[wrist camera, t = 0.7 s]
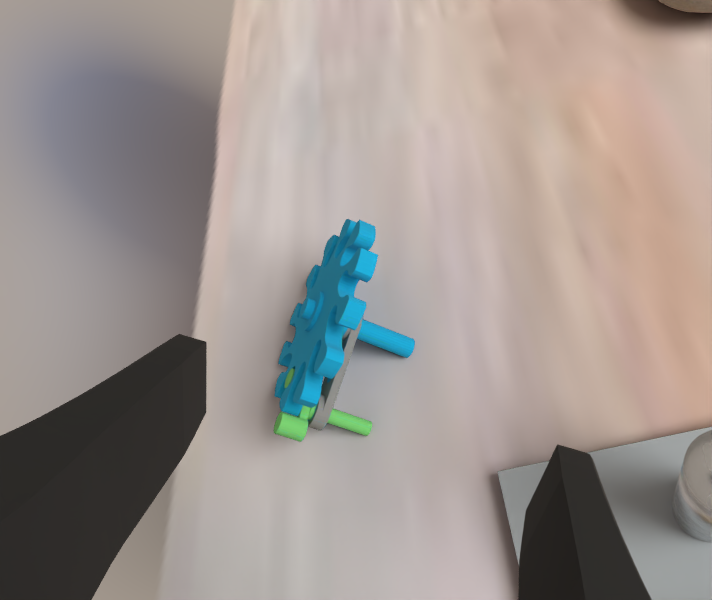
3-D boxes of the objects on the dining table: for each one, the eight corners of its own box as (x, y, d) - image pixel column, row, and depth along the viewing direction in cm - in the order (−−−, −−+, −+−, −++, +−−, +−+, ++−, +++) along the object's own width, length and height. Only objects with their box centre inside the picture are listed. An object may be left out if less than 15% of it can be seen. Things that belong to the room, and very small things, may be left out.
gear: (313, 228, 37) (370, 193, 27) (403, 266, 38) (488, 246, 29) (244, 414, 35) (280, 445, 26) (342, 446, 37) (410, 487, 27)
